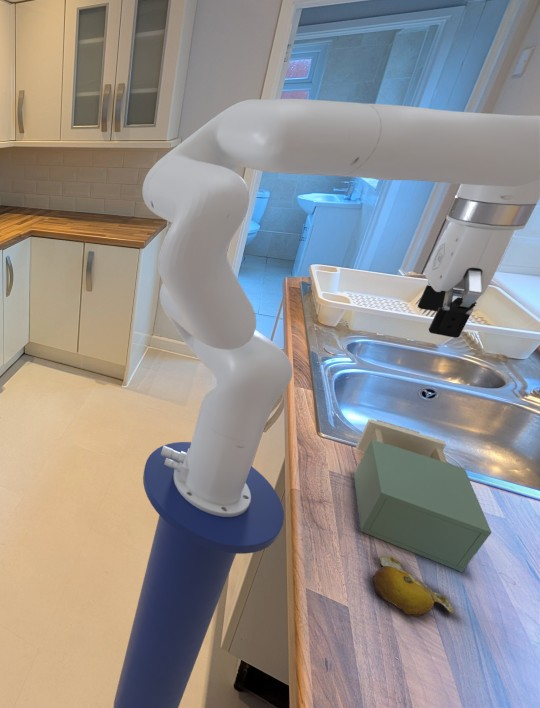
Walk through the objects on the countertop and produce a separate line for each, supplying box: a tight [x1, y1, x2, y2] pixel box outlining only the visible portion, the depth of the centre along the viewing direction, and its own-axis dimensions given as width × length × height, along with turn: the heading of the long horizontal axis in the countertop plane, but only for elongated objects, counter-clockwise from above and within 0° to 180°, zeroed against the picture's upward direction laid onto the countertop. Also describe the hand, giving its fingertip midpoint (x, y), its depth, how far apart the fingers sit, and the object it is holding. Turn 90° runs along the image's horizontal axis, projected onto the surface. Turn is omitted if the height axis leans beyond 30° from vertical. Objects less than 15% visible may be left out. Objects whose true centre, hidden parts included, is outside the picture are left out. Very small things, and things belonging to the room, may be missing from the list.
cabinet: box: [353, 440, 492, 573], centre depth 68 cm, size 14×12×9 cm
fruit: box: [372, 555, 455, 617], centre depth 58 cm, size 8×8×4 cm
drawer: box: [355, 418, 448, 463], centre depth 76 cm, size 17×10×7 cm, turn 146°
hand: (436, 321), depth 66 cm, fingers open, 9 cm apart
